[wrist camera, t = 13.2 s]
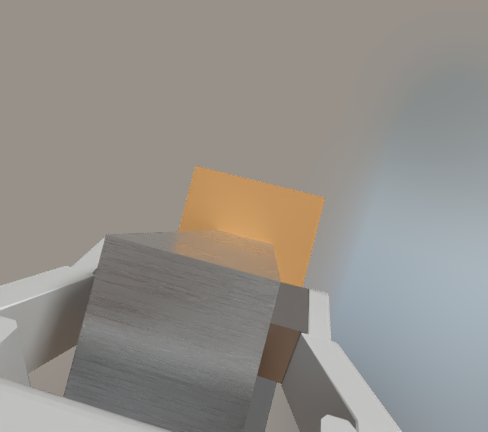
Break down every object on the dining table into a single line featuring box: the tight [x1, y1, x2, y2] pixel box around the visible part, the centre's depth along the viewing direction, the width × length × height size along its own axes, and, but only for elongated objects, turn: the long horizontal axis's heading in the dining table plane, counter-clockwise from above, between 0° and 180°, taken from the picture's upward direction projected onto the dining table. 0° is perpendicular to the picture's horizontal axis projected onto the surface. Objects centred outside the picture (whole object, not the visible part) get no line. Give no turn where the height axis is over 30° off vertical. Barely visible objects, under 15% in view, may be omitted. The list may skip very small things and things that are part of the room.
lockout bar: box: [63, 166, 325, 432], centre depth 14 cm, size 18×7×6 cm, turn 176°
